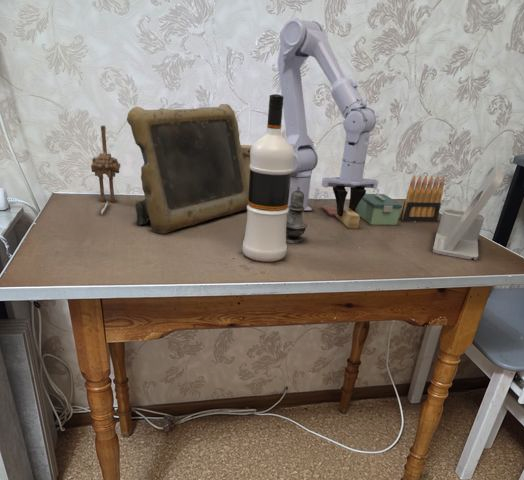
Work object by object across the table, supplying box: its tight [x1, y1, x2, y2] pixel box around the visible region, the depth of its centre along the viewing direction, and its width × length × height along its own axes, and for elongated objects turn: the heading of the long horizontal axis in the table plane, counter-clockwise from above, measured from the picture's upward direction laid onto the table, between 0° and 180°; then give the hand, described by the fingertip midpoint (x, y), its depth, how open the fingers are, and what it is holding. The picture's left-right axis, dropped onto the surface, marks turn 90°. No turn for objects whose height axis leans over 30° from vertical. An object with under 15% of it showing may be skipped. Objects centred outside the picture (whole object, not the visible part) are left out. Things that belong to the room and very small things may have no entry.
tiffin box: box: [355, 192, 403, 226], centre depth 131 cm, size 8×12×6 cm, turn 12°
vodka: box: [241, 93, 294, 263], centre depth 94 cm, size 9×9×30 cm
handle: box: [240, 144, 252, 190], centre depth 132 cm, size 5×6×15 cm
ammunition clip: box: [399, 174, 446, 222], centre depth 131 cm, size 11×2×12 cm, turn 104°
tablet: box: [126, 103, 249, 235], centre depth 115 cm, size 33×14×25 cm, turn 148°
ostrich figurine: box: [90, 124, 121, 214], centre depth 119 cm, size 17×7×18 cm, turn 7°
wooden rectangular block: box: [322, 203, 361, 230], centre depth 130 cm, size 18×5×3 cm, turn 12°
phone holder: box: [432, 165, 504, 261], centre depth 112 cm, size 17×10×18 cm, turn 159°
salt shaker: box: [286, 186, 308, 245], centre depth 108 cm, size 6×6×12 cm
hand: (344, 215), depth 128 cm, fingers closed on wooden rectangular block, 2 cm apart
